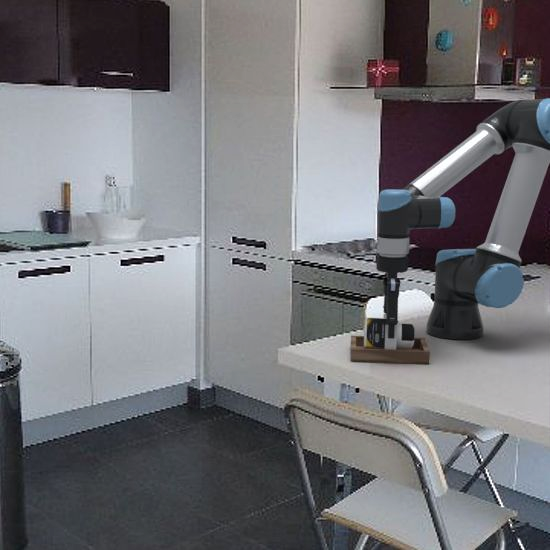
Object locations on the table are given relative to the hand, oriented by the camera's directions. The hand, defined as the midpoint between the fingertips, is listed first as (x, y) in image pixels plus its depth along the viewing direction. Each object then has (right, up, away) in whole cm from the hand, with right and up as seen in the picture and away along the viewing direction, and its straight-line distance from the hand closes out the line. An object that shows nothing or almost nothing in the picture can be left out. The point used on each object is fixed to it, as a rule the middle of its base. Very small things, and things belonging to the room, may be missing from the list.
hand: (389, 345), depth 206 cm
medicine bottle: (-6, +3, 0) cm, 7 cm away
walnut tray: (0, -2, 0) cm, 3 cm away
